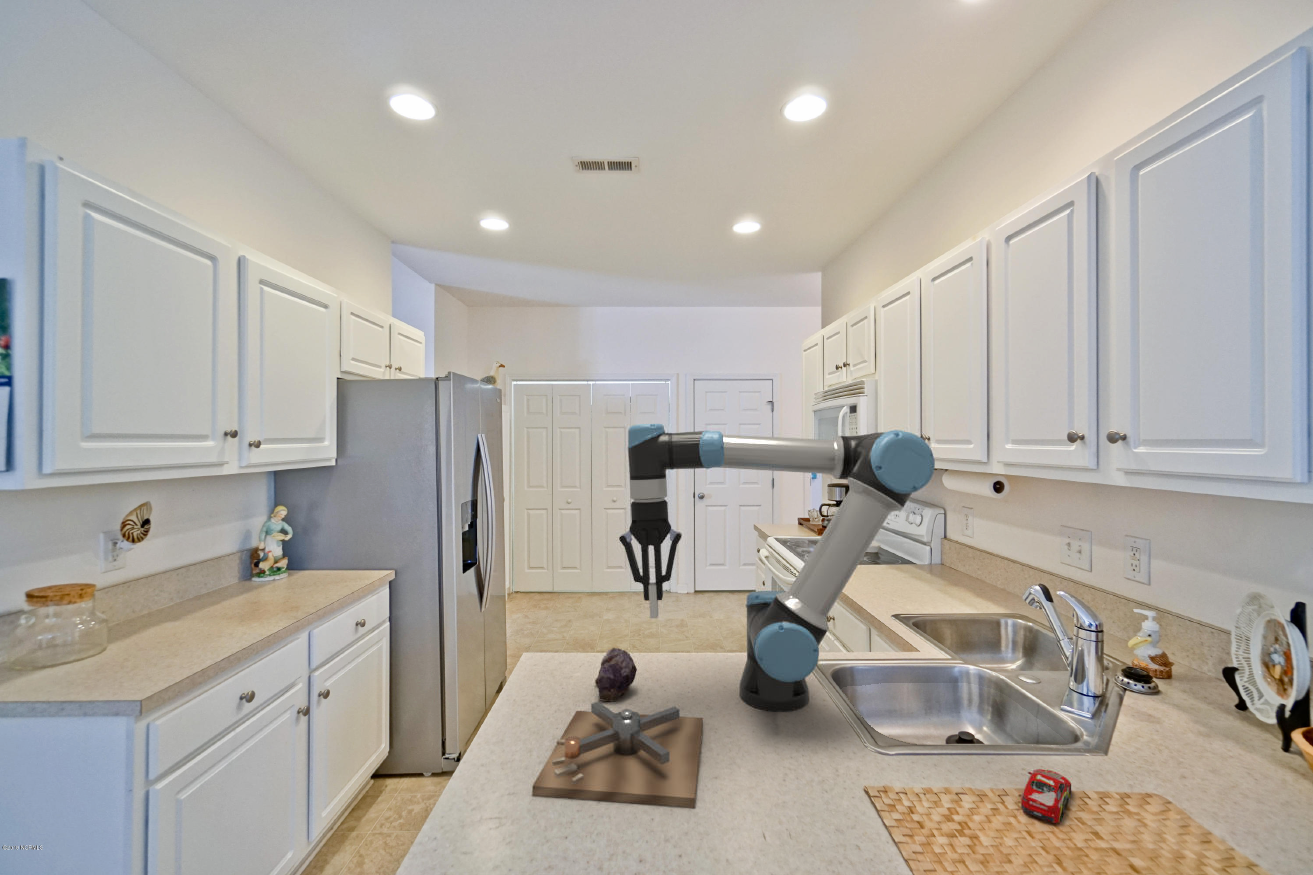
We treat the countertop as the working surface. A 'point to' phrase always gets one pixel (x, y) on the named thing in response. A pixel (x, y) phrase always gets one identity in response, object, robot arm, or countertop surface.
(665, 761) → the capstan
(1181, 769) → the countertop surface
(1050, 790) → the race car
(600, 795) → the board
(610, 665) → the rock
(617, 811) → the countertop surface
